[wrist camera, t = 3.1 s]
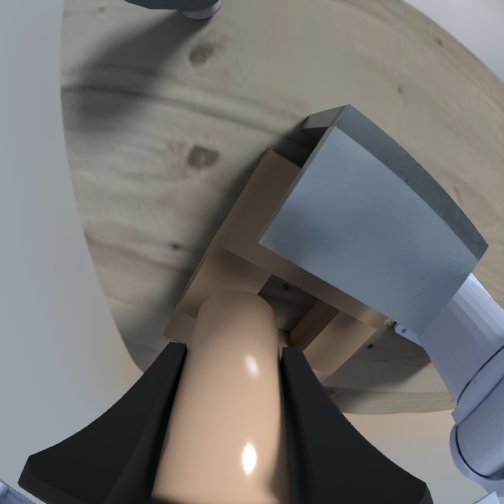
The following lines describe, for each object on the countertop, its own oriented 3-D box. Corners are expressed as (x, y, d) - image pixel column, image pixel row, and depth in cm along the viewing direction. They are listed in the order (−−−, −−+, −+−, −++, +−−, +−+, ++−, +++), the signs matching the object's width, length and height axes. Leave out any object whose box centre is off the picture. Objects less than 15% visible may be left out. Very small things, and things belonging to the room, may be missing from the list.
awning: (424, 206, 17) (488, 245, 10) (375, 273, 19) (419, 335, 12) (310, 114, 15) (349, 104, 8) (256, 198, 17) (258, 243, 10)
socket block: (409, 247, 18) (429, 266, 15) (304, 367, 22) (309, 393, 20) (268, 147, 15) (271, 150, 13) (173, 309, 20) (163, 335, 17)
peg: (276, 351, 12) (287, 520, 5) (202, 352, 12) (172, 514, 5) (276, 288, 11) (299, 492, 4) (191, 290, 11) (130, 480, 4)
